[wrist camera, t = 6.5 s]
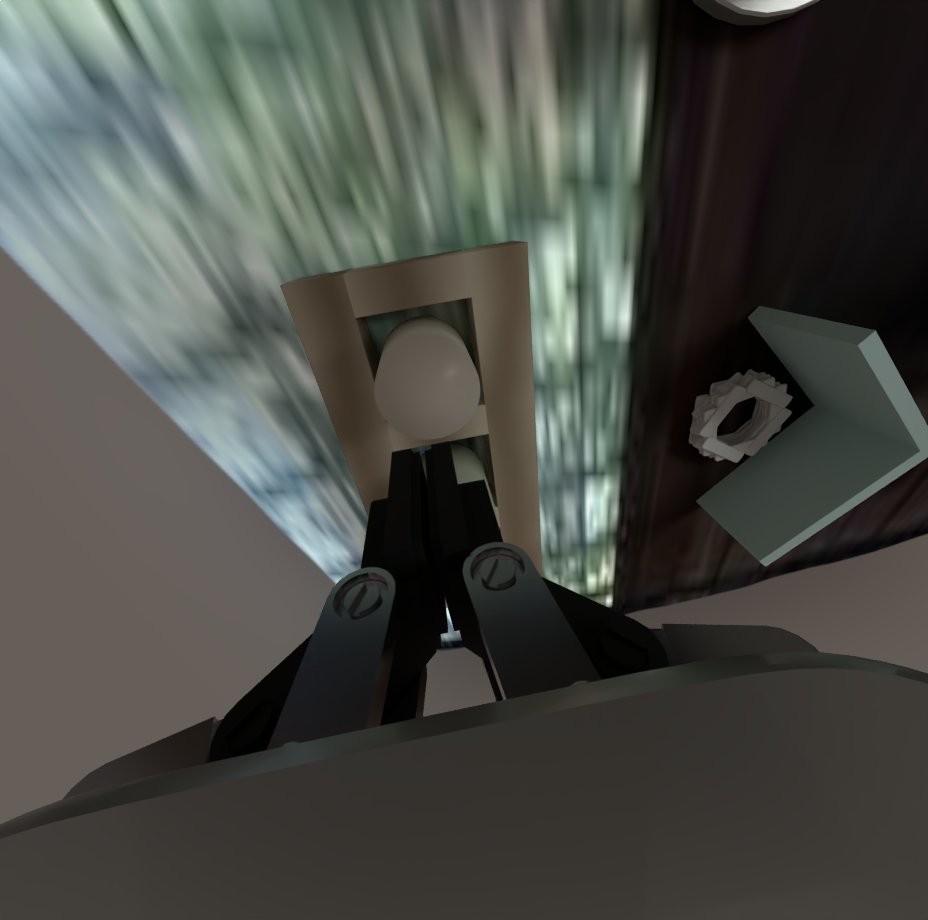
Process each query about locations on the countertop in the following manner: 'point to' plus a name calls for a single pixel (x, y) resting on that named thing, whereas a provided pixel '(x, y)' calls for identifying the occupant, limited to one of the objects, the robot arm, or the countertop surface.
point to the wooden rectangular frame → (495, 356)
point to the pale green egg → (466, 467)
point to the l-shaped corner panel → (807, 433)
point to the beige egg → (426, 379)
